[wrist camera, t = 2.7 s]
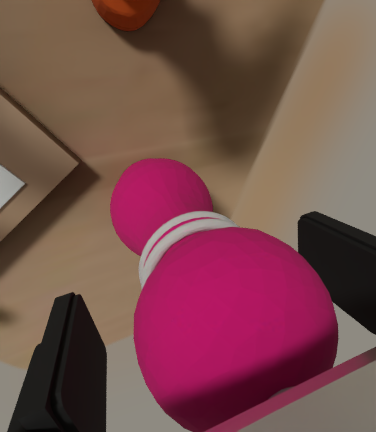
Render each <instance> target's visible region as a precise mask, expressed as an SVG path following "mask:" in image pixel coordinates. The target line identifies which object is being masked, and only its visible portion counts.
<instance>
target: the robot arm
mask: <svg viewBox="0 0 376 432" xmlns="http://www.w3.org/2000/svg"><path fill="white" fill-rule="evenodd" d="M298 253H299V254H300V255H301V256H303V257H304V258H305V260H306V261H307V262H308V263H309V264H310V265H311V267H312V268H313V269H314V270H315V271H316V272H317V274H318V275H319V277H320V278H321V280H322V282H323V283H324V285H325V287H326V288H327V290H328V292H329V294H330V297H331V300H332V302H333V303H335V304H336V305H337V306H339V307H340V308H341V309H342V310H343V311H345V312H346V313H347V314H349V315H350V316H351V317H352V318H354V319H355V320H356V321H358V322H359V323H360V324H361V325H362V326H364V327H365V328H366V329H367V330H369V331H370V332H372V333H373V334H375V335H376V236H374V235H371V234H369V233H367V232H364V231H362V230H359V229H357V228H355V227H352V226H350V225H347V224H345V223H343V222H340V221H338V220H335V219H333V218H330V217H328V216H326V215H323V214H321V213H319V212H316V211H314V212H310V213H307V214H304V215H302V216H301V217H300V220H299V221H298ZM106 375H107V353H106V348H105V345H104V343H103V341H102V339H101V336H100V334H99V332H98V330H97V328H96V326H95V324H94V321H93V319H92V317H91V315H90V313H89V311H88V309H87V307H86V304H85V302H84V300H83V298H82V296H81V295H80V294H78V295H75V294H74V293H73V292H72V293H69V294H66V295H63V296H60V297H57V298H55V300H54V304H53V307H52V310H51V313H50V316H49V320H48V323H47V326H46V329H45V333H44V336H43V339H42V342H41V343H40V344H38V345H37V346H36V348H35V350H34V352H33V355H32V358H31V361H30V364H29V368H28V371H27V374H26V377H25V380H24V383H23V386H22V389H21V392H20V395H19V398H18V401H17V404H16V407H15V410H14V413H13V416H12V419H11V422H10V425H9V428H8V431H7V432H106ZM205 432H376V347H375V348H373V349H370V350H368V351H366V352H364V353H362V354H360V355H358V356H356V357H354V358H352V359H350V360H348V361H346V362H344V363H342V364H340V365H338V366H336V367H334V368H331V369H329V370H327V371H325V372H323V373H321V374H319V375H317V376H315V377H313V378H311V379H309V380H307V381H305V382H303V383H301V384H299V385H297V386H295V387H293V388H291V389H289V390H287V391H285V392H283V393H281V394H279V395H277V396H275V397H273V398H271V399H269V400H267V401H265V402H263V403H261V404H259V405H257V406H255V407H253V408H251V409H249V410H247V411H245V412H243V413H241V414H239V415H237V416H235V417H233V418H231V419H229V420H227V421H225V422H223V423H221V424H219V425H217V426H215V427H213V428H211V429H209V430H207V431H205Z"/></svg>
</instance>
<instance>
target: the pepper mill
mask: <svg viewBox="0 0 376 432" xmlns="http://www.w3.org/2000/svg"><path fill="white" fill-rule="evenodd" d="M110 213H111V218H112V222H113V226H114V228H115V231H116V233H117V235H118V236H119V238H120V239H121V241H122V242H123V243H124V244H125V245H126V246H127V247H128V248H129V249H130V250H131V251H133V252H134V253H136V254H137V255H139V256H141V258H140V262H139V278H140V283H141V286H142V291H141V294H140V297H139V299H138V302H137V306H136V310H135V313H134V343H135V348H136V354H137V359H138V364H139V366H140V369H141V372H142V374H143V377H144V380H145V383H146V385H147V387H148V388H149V390H150V392H151V393H152V395H153V396H154V398H155V400H156V401H157V403H158V404H159V405H160V407H161V408H162V409H163V410H164V412H165V413H166V414H168V415H169V416H170V417H171V418H172V419H174V420H175V421H176V422H177V423H179V424H180V425H181V426H182V427H183V428H185V429H187V430H190V431H192V432H205V431H207V430H209V429H211V428H213V427H215V426H217V425H219V424H221V423H223V422H225V421H227V420H229V419H231V418H233V417H235V416H237V415H239V414H241V413H243V412H245V411H247V410H249V409H251V408H253V407H255V406H257V405H259V404H261V403H263V402H265V401H267V400H269V399H271V398H273V397H275V396H277V395H279V394H281V393H283V392H285V391H287V390H289V389H291V388H293V387H295V386H297V385H299V384H301V383H303V382H305V381H307V380H309V379H311V378H313V377H315V376H317V375H319V374H321V373H323V372H325V371H327V370H329V369H331V368H333V364H334V361H335V358H336V354H337V345H338V323H337V319H336V315H335V311H334V307H333V303H332V300H331V297H330V294H329V292H328V290H327V288H326V287H325V285H324V283H323V282H322V280H321V278H320V277H319V275H318V274H317V272H316V271H315V270H314V269H313V268H312V267H311V265H310V264H309V263H308V262H307V261H306V260H305V258H304V257H303V256H301V255H300V254H299V253H298V252H297V251H295V250H294V249H293V248H292V247H291V246H289V245H287V244H286V243H284V242H282V241H280V240H279V239H277V238H275V237H273V236H270V235H268V234H266V233H264V232H262V231H259V230H256V229H248V228H240V227H239V226H237V225H236V224H235V223H234V222H233V221H232V220H230V219H229V218H227V217H225V216H223V215H221V214H218V213H214V212H213V205H212V200H211V197H210V194H209V191H208V189H207V187H206V185H205V184H204V182H203V181H202V180H201V178H200V177H199V176H198V175H197V174H196V173H195V172H194V171H193V170H192V169H191V168H189V167H188V166H186V165H184V164H183V163H180V162H178V161H175V160H171V159H161V158H160V159H144V160H141V161H138V162H136V163H134V164H132V165H131V166H130V167H128V168H127V169H126V170H125V171H124V173H123V174H122V176H121V177H120V179H119V181H118V183H117V184H116V186H115V189H114V191H113V193H112V198H111V203H110Z"/></svg>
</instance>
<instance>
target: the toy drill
mask: <svg viewBox="0 0 376 432" xmlns="http://www.w3.org/2000/svg"><path fill="white" fill-rule="evenodd" d="M92 2H93V5H94V7H95V8H96V10H97V12H98V13H99V15H100V16H101V17H102V18H103V19H104V20H105V21H106V22H108V23H109V24H110V25H112V26H113V27H116V28H118V29H120V30H124V31H134V30H137V29H138V28H140V27H142V26H143V25H144V24H145V23H146V22H147V21H148V20H149V19H150V18H151V16H152V15H153V13H154V12H155V10H156V8H157V6H158V4H159V2H160V0H92Z"/></svg>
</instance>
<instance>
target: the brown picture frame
mask: <svg viewBox="0 0 376 432" xmlns="http://www.w3.org/2000/svg"><path fill="white" fill-rule="evenodd" d="M80 161H81V159H79V158H78V157H77V156H76V155H75V154H74V153H73V152H72V151H70V150H69V149H68V148H67V147H66V146H65V145H64V144H63V143H61V142H60V141H59V140H58V139H57V138H56V137H55V136H54V135H52V134H51V133H50V132H49V131H48V130H47V129H46V128H45V127H43V126H42V125H41V124H40V123H39V122H38V121H37V120H36V119H35V118H33V117H32V116H31V115H30V114H29V113H28V112H27V111H26V110H24V109H23V108H22V107H21V106H20V105H19V104H18V103H17V102H15V101H14V100H13V99H12V98H11V97H10V96H9V95H8V94H6V93H5V92H4V91H3V90H2V89H1V88H0V241H1V240H2V239H3V238H4V237H5V236H6V235H7V234H8V233H9V232H10V231H11V230H12V229H13V228H14V227H15V226H16V225H17V224H18V223H20V222H21V221H22V220H23V219H24V218H25V217H26V216H27V215H28V214H29V213H30V212H31V211H32V210H33V209H34V208H35V207H36V206H37V205H38V204H39V203H40V202H41V201H42V200H43V199H44V198H45V197H46V196H47V195H48V194H49V193H50V192H51V191H52V190H53V189H54V188H55V187H56V186H57V185H58V184H59V183H60V182H61V181H62V180H63V179H64V178H65V177H66V176H67V175H68V174H69V173H70V172H71V171H72V170H73V169H74V168H75V167H76V166H77V165H78V164H79V163H80Z"/></svg>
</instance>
